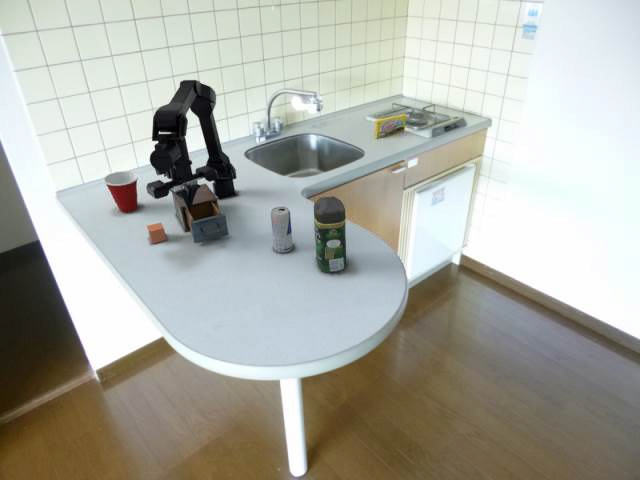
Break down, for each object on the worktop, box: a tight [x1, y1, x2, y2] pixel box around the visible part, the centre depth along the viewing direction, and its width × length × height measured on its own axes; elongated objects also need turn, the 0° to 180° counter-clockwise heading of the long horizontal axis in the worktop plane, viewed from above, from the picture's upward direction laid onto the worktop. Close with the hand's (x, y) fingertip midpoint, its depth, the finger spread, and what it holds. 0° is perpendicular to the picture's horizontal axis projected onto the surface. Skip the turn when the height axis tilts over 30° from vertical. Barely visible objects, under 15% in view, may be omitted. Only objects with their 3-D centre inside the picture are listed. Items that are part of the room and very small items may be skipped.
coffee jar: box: [313, 196, 347, 274], centre depth 121 cm, size 10×8×19 cm
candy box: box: [373, 113, 407, 140], centre depth 211 cm, size 16×2×8 cm, turn 120°
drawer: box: [184, 202, 229, 245], centre depth 139 cm, size 17×10×7 cm, turn 27°
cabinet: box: [171, 183, 220, 232], centre depth 149 cm, size 13×11×8 cm
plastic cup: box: [102, 170, 139, 214], centre depth 156 cm, size 11×11×12 cm
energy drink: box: [270, 206, 294, 253], centre depth 130 cm, size 5×5×12 cm
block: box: [146, 222, 167, 245], centre depth 139 cm, size 4×4×4 cm
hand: (188, 209), depth 132 cm, fingers closed
